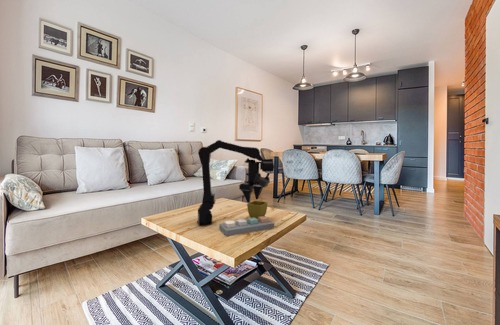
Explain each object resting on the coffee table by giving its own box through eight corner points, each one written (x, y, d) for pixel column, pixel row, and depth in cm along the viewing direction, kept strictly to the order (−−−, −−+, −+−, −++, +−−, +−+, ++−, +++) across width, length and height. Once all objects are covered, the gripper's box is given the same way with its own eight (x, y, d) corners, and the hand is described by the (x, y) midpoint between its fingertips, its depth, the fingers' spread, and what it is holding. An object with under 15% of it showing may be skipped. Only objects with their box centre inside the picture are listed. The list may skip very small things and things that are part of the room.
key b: (239, 228, 107) (239, 222, 107) (236, 225, 111) (236, 219, 110) (246, 227, 109) (247, 221, 109) (243, 224, 112) (243, 218, 112)
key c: (250, 226, 110) (250, 220, 110) (247, 224, 113) (247, 218, 113) (257, 225, 111) (258, 219, 111) (254, 223, 115) (254, 217, 115)
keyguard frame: (226, 236, 101) (226, 230, 101) (219, 228, 110) (219, 223, 110) (274, 228, 112) (274, 223, 112) (264, 222, 121) (264, 217, 121)
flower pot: (260, 222, 121) (260, 205, 121) (246, 219, 126) (246, 203, 125) (267, 217, 129) (268, 202, 128) (254, 215, 133) (254, 200, 133)
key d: (261, 225, 112) (261, 219, 112) (257, 222, 116) (257, 216, 116) (268, 224, 114) (268, 218, 114) (264, 221, 118) (264, 215, 117)
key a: (227, 230, 104) (227, 224, 104) (224, 227, 108) (224, 221, 108) (235, 229, 106) (235, 222, 106) (232, 226, 110) (232, 220, 110)
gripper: (258, 174, 106) (258, 207, 107) (274, 171, 123) (274, 199, 124) (238, 172, 112) (238, 203, 113) (256, 169, 128) (256, 197, 129)
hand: (252, 200), depth 120 cm, fingers open, 9 cm apart
